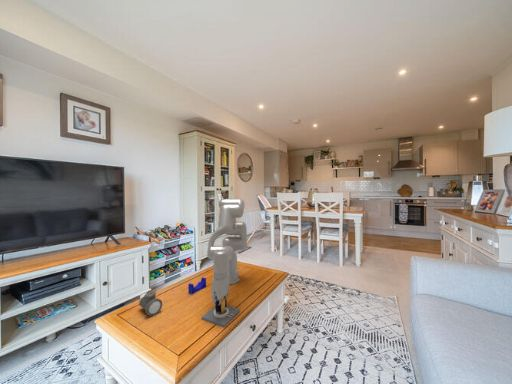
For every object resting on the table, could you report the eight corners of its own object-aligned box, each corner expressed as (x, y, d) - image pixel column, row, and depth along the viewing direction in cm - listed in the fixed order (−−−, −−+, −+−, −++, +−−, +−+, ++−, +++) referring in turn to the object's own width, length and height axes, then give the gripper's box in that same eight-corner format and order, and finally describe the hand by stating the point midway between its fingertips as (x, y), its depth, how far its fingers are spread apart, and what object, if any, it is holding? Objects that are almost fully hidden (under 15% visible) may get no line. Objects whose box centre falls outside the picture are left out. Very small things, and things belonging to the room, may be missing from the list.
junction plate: (218, 304, 113) (218, 301, 113) (239, 311, 107) (239, 307, 107) (201, 319, 101) (201, 315, 101) (224, 327, 95) (224, 323, 95)
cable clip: (201, 285, 137) (201, 276, 137) (206, 287, 135) (206, 278, 135) (186, 292, 127) (186, 283, 127) (191, 294, 125) (191, 285, 125)
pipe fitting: (163, 311, 107) (162, 292, 107) (147, 319, 101) (147, 299, 101) (152, 304, 115) (151, 286, 114) (136, 311, 108) (136, 292, 108)
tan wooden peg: (220, 307, 107) (220, 293, 107) (226, 309, 105) (226, 295, 105) (215, 311, 103) (215, 297, 103) (222, 313, 101) (222, 299, 101)
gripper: (224, 267, 113) (224, 299, 113) (204, 279, 98) (204, 316, 98) (235, 269, 110) (235, 303, 110) (216, 282, 95) (217, 321, 95)
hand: (221, 309), depth 104 cm, fingers closed on tan wooden peg, 4 cm apart
